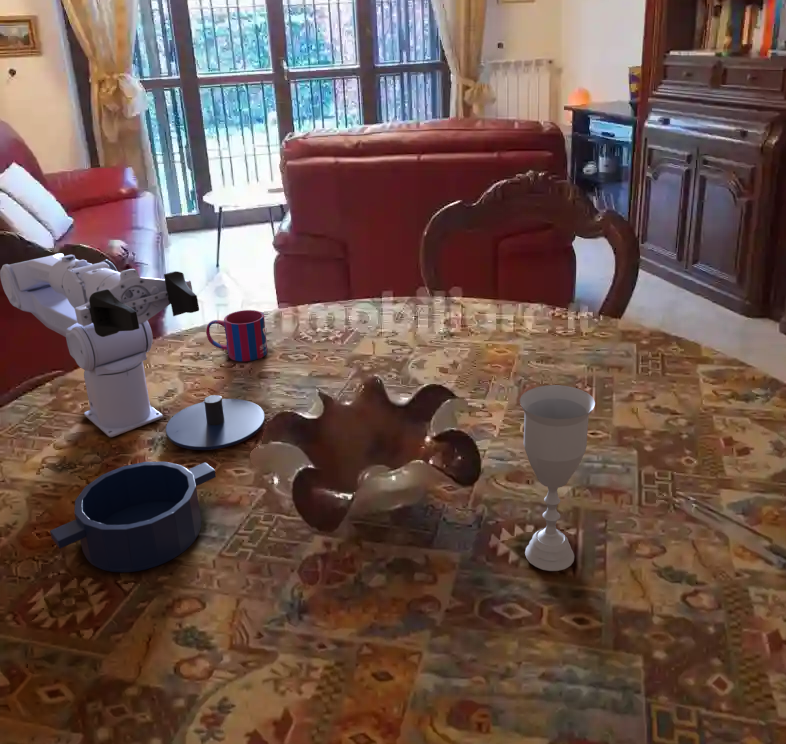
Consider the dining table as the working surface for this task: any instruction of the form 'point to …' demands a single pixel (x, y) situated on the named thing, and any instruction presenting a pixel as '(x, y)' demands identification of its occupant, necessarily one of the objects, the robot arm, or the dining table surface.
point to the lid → (215, 423)
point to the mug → (243, 335)
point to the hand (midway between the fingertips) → (166, 312)
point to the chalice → (554, 460)
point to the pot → (137, 516)
